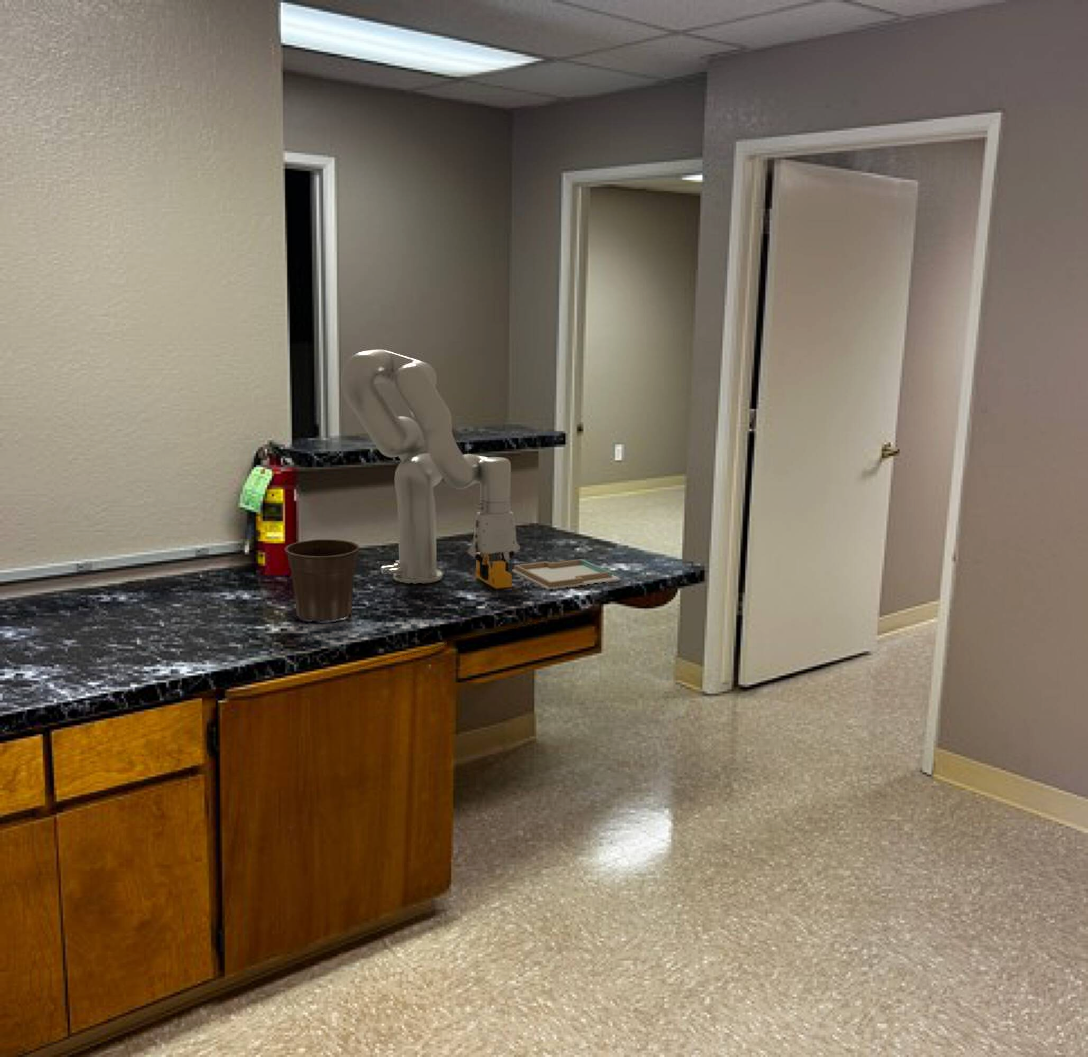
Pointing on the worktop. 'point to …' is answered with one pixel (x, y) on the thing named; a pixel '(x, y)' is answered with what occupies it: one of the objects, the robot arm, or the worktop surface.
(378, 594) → the worktop surface
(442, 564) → the worktop surface
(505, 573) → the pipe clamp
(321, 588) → the plant pot
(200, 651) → the worktop surface
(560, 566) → the shallow rimmed tray
